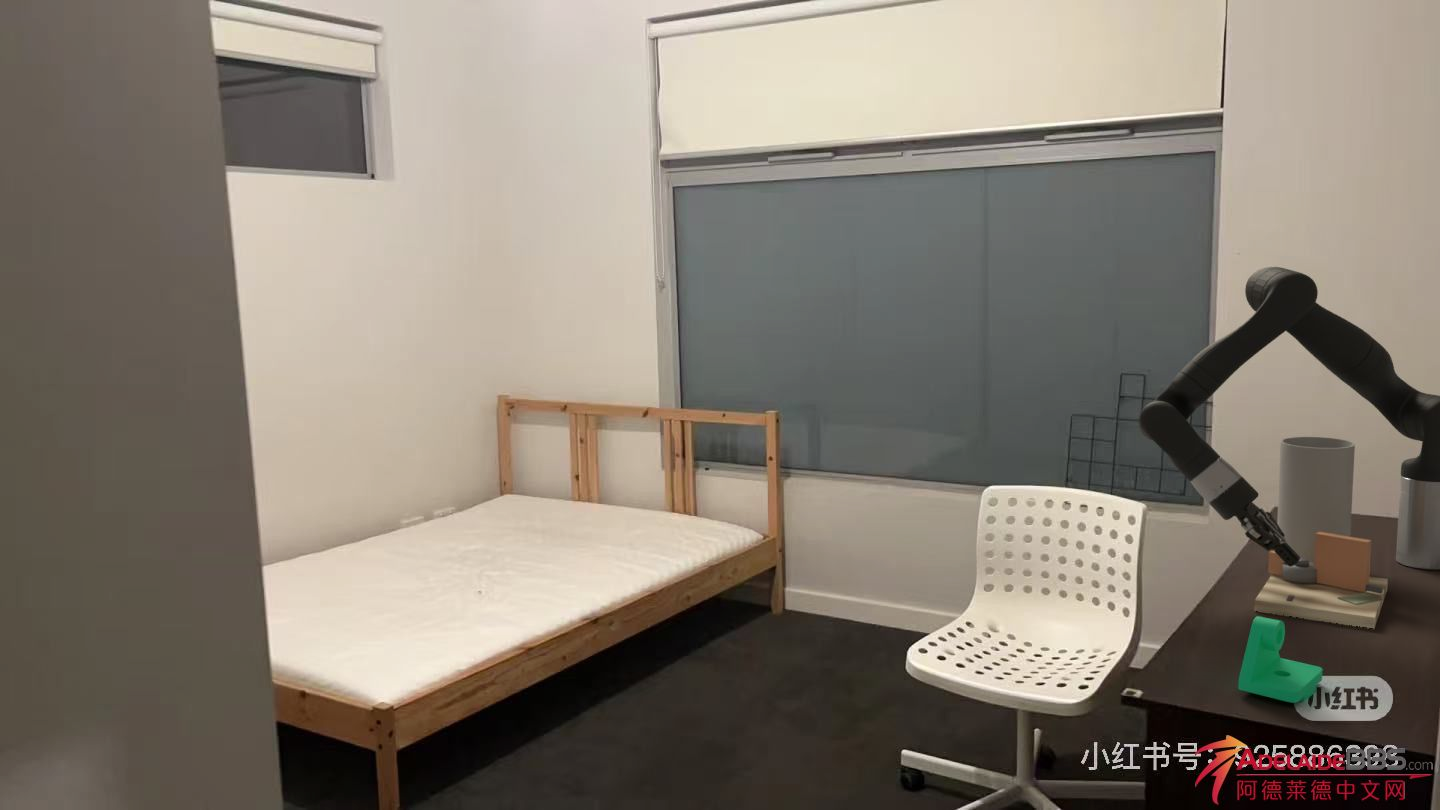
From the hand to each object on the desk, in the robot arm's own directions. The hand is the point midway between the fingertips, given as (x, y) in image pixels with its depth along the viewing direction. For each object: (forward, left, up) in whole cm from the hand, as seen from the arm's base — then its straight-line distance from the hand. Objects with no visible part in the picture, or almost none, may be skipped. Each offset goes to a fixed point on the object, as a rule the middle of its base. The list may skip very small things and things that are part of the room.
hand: (1295, 562), depth 193 cm
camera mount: (+27, +34, -7) cm, 44 cm away
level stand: (-5, +1, -7) cm, 9 cm away
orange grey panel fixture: (-7, -1, -5) cm, 8 cm away
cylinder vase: (-16, -16, -7) cm, 24 cm away
